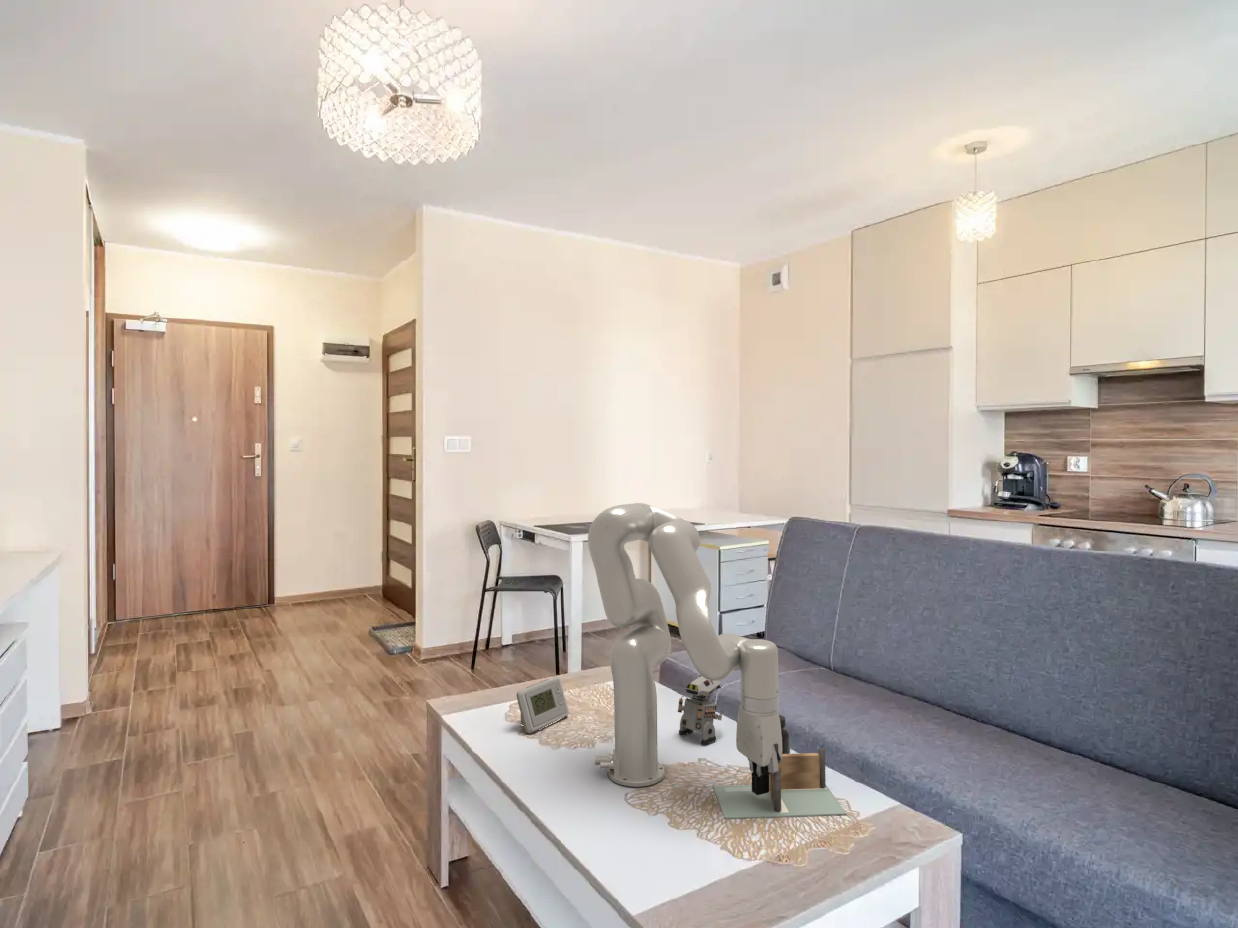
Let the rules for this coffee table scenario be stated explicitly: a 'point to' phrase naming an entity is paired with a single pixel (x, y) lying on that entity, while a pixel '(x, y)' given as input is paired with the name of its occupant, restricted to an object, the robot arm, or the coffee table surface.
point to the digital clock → (542, 704)
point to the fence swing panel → (775, 789)
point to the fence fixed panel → (803, 770)
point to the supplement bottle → (784, 736)
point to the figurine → (699, 710)
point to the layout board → (793, 803)
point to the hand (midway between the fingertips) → (760, 791)
